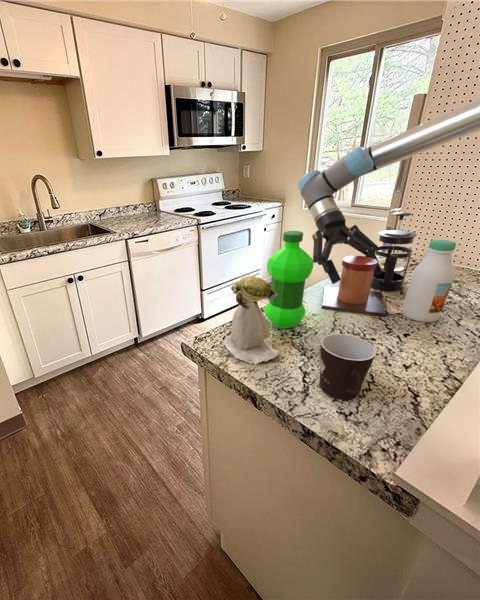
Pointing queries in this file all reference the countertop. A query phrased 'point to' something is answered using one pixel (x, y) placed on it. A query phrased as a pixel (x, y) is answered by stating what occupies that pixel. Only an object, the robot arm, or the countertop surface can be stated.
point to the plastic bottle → (288, 281)
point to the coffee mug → (344, 365)
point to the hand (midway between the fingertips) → (357, 278)
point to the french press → (393, 258)
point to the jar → (355, 286)
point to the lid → (359, 263)
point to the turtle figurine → (251, 322)
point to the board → (370, 307)
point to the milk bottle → (430, 283)
